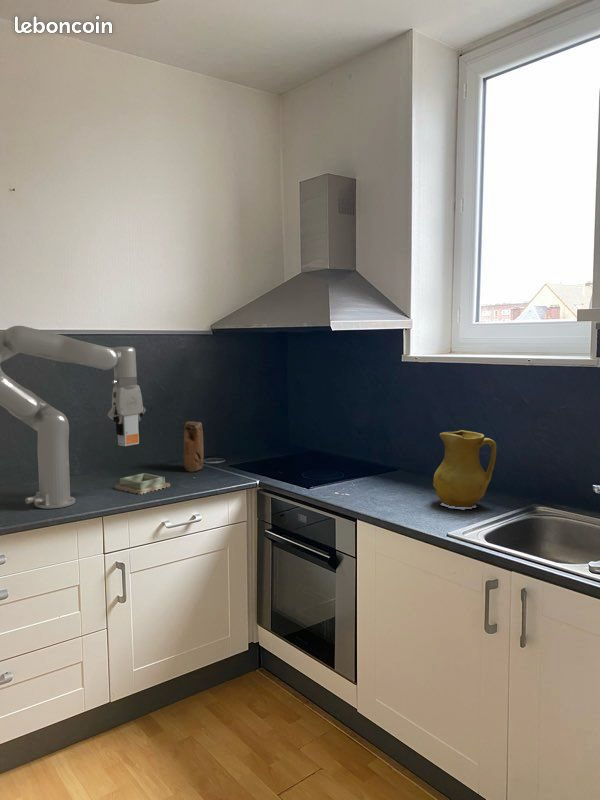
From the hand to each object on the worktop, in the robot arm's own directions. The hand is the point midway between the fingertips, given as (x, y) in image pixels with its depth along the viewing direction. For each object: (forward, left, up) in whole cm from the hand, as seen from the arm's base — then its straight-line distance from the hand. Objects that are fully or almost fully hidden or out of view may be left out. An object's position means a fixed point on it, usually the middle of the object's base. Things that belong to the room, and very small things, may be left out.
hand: (128, 433), depth 219 cm
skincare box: (0, 0, -4) cm, 4 cm away
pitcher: (+56, -100, -22) cm, 117 cm away
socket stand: (+9, +4, -22) cm, 24 cm away
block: (+42, +11, -22) cm, 49 cm away
